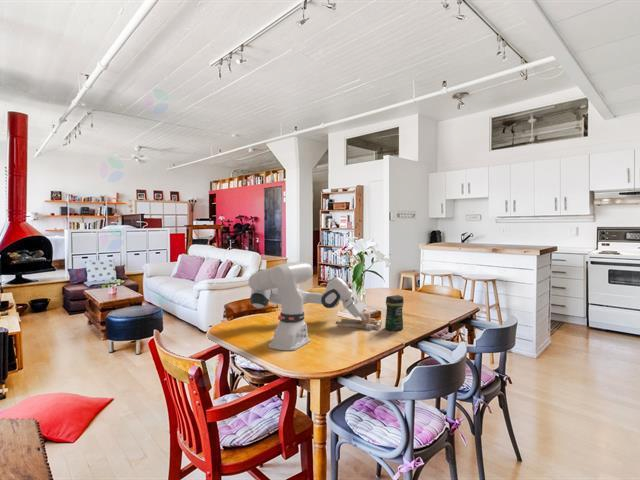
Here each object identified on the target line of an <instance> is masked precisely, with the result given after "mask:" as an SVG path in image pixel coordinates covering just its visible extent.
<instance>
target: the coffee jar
mask: <svg viewBox="0 0 640 480" xmlns="http://www.w3.org/2000/svg"><path fill="white" fill-rule="evenodd" d="M404 303H405V302H404V296H403V295H398V294H397V295H390V296H386V299H385V305H386V313H385V322H384V327H385V329H387V330H389V331H394V332H395V331H399V330H403V328H404V318H403V307H404Z"/></svg>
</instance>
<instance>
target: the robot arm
mask: <svg viewBox="0 0 640 480" xmlns="http://www.w3.org/2000/svg"><path fill="white" fill-rule="evenodd" d="M313 272H314V270H313V267H312V265H311V264H310V263H309V262H306V261H305V262H304V261H295V262H286V263H281V264H278V265H276V266H272V267H269V268H265V269H258V270H257V271H256V272H254V273H252V274H251V275H250V277H249V279H248V286H249V288H250V289H251V290H250V291H251V292H250V296H249V303H250V305H251V306H253V307H255V308H257V309H263V308H266V307H268V304H269V302H270V303H272V304H276V305H280V308H281V309H280V314H279V315H278V317H277V320H278V321H279V322H278V324H277V326H276V329H275V330H274V333H273V338H272V340H271V341H270V342H269V344H268V348H270V349H273V350H279V351H280V350H281V351H296V350H297V349H299V348H301V347H303V346H305V345H307V344H308V343H309V342H311V338H310V337H308V325H307V322H306V321H305V311H304V304H317V305H318V304H319V305H322V306H323V307H324V308H326V309H334V308H336V307H337V306H338V305H339V303H340V302H341V303H342V305H343V306H342V307H343V308H344V309H345V310H347V312H349V313H350V314H351V315H352V316H353V317H354V318H355V319H357V318H358V317H360V319H361V320H362V319H363V320H364V321H366V320H367V317H366V316H364V315H363V313H362V312H363V311H367V310H366V308H367V305H366V303H365V302H364V301H362V300H361V298H359V296H358V295H357V294H356V293H355V292H354V290H353V289H351V288H350V287H349V285H348V284H347V283H346V282H345V281H344V280H343V279H342V278H340V277H339V276H334V277H333V278H331V279H330V280H328V282H326V283H327V284H326V286H325V287H326V288H325V290H324V292H323V293H320V292H312V291H311V292H310V291H306V290H303V289H300V288H298V287H297V285H299V284H302V283H305V282H307V281H308V280H310V279H311V278H312V277H313Z"/></svg>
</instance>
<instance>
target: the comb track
mask: <svg viewBox="0 0 640 480" xmlns="http://www.w3.org/2000/svg"><path fill="white" fill-rule="evenodd" d="M340 319H341V321H339V322H338V323H337V326H338V327H345V328H357V329H365V330H366V331H372V330H377V331H378V330H380V329H381V327H382V325H383V323H382V322H383V320H381V319H379V320H378V321H377V320H376V318H373V317H370V324H366V325H365V324H362V319H356V318H355V319H353V318H340ZM344 322H350V323H344ZM354 323H361V324H354ZM372 324H374V325H372ZM376 325H377V326H376Z"/></svg>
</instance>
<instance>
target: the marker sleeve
mask: <svg viewBox="0 0 640 480" xmlns="http://www.w3.org/2000/svg"><path fill="white" fill-rule="evenodd" d="M362 313H363V315H364V316H366V317H367V320H366V321H364V320H363V319H362V318H361V320H362V324H365V325H366V324H370V318H371V311H370V310H369V311H367V310H366V311H363V312H362Z"/></svg>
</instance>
